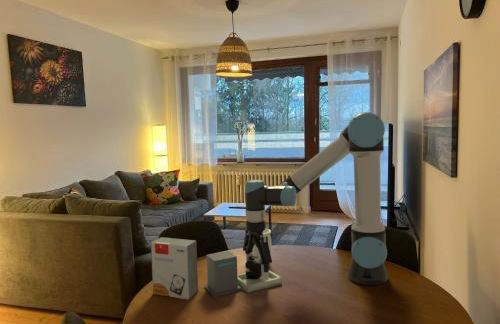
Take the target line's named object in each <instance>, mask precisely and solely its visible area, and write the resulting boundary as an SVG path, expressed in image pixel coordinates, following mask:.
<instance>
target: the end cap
mask: <svg viewBox="0 0 500 324" xmlns="http://www.w3.org/2000/svg"><path fill="white" fill-rule="evenodd" d="M249 259H250V260H253V261H247V262H246V261H245V266H244V267H245V269H246V268H250V269H249V270H246V271H245V273H246V275H247V276H246V279H253V280H257V279H259V278H260V277H261V263H262V260H261V257H260V256H259V257H257V256H250V257H249Z"/></svg>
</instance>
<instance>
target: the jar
mask: <svg viewBox="0 0 500 324" xmlns="http://www.w3.org/2000/svg"><path fill="white" fill-rule="evenodd" d="M271 234H272V230H271V229H270V228H266V229H265V230H264V231H263V236H264V237H265V236H267V237H268V245H269V250H270V254H271V252H272V236H271ZM252 251H253V252H251V253H253V256H257V257H259V256H260V254H259V251H258V248H257V247H256V245H254V247H253V250H252Z"/></svg>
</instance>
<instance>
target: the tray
mask: <svg viewBox="0 0 500 324" xmlns="http://www.w3.org/2000/svg"><path fill="white" fill-rule="evenodd" d="M237 275H238V285H239V286H240V287H241V289H242V290H243V291H244V292H246V293H252V292H255V291H260V290H264V289H267V288H271V287H276V286H280V285H282V284H283V278H282V277H281V276H280V275H278V274H277V273H274V271H271V270H270V269H269V279H268V280H264V281H262V276H261V277H260V278H259V279H257V280H253V279H246V276H247V275H246V272H244V273H240V274H239V273H237Z"/></svg>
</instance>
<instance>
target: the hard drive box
mask: <svg viewBox="0 0 500 324" xmlns="http://www.w3.org/2000/svg"><path fill="white" fill-rule="evenodd" d="M150 251H151V253H150V254H151V275H152V278H151V279H152V294H153V295H158V296H161V297H163V296H166V297H171V298H177V299H182V300H187V301H188V300H190V299H191V298H193V297H194V296H195V294H197V293H198V292H199V285H198V283H199V280H198V279H199V278H198V252H197V251H198V250H197V240H195V239H194V240H193V239H183V238H172V237H159V238H157V239H155V240H153V241H151V242H150Z"/></svg>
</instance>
